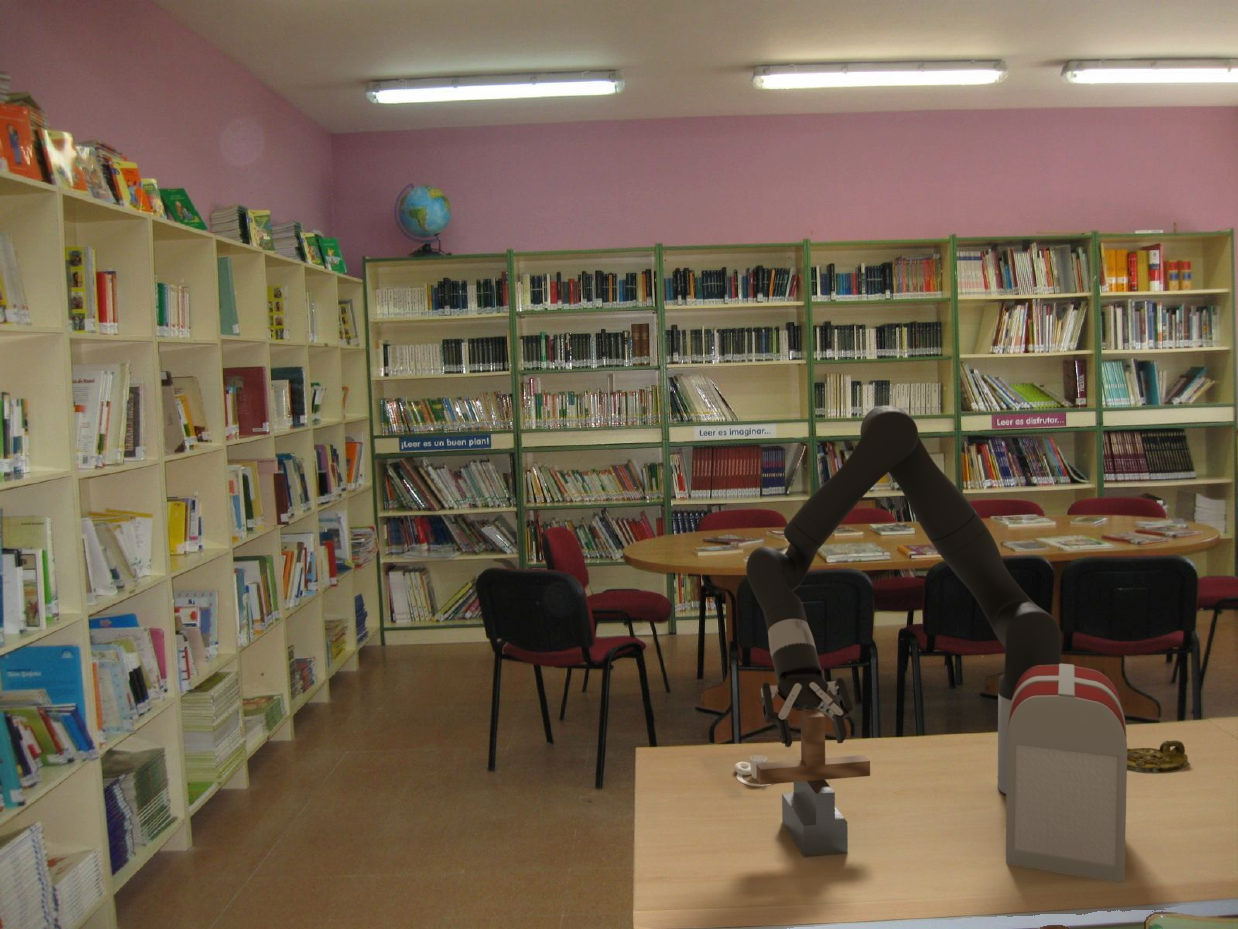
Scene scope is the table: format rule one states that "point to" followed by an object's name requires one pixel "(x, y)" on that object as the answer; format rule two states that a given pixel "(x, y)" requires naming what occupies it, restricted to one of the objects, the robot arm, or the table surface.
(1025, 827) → the red-striped tombstone block
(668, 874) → the table surface
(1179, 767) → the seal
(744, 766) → the teacup and saucer
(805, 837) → the gray metal t-shaped block
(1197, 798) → the table surface
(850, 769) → the wooden t-shaped block
